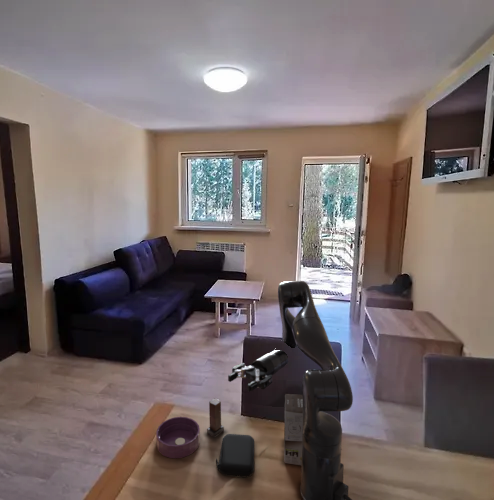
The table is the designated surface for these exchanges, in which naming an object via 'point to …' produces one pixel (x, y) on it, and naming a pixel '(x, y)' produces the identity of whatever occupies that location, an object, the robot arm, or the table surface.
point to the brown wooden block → (215, 418)
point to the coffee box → (293, 429)
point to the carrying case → (236, 455)
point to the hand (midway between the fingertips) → (238, 383)
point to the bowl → (175, 430)
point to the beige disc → (179, 441)
